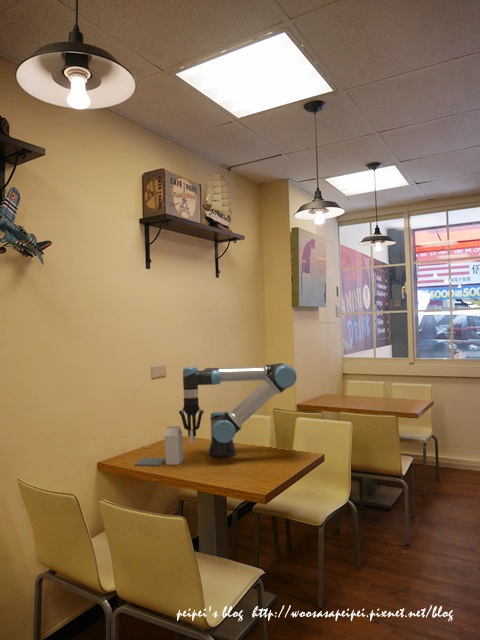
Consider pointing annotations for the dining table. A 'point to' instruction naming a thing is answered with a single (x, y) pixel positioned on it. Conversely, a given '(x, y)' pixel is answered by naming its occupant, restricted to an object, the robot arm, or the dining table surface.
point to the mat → (150, 462)
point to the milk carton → (173, 445)
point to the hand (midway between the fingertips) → (192, 442)
